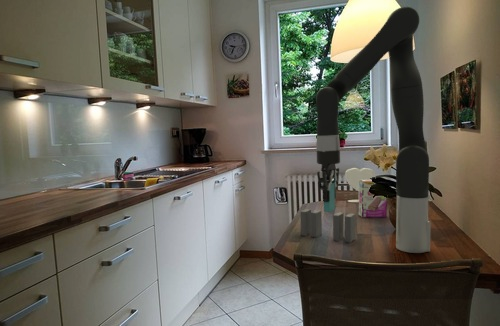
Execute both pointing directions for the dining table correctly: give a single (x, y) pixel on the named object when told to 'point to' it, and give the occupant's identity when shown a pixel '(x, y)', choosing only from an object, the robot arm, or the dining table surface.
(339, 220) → the domino
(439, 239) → the dining table surface
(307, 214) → the domino
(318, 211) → the domino
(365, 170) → the heart sculpture
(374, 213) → the candy bar box
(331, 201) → the domino
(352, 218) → the domino
